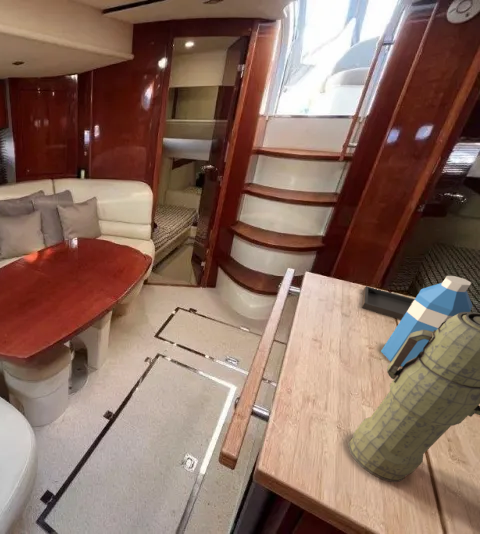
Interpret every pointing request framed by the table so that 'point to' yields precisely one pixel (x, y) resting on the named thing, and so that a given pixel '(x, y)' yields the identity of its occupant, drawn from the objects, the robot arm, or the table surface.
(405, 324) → the water bottle
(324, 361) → the table surface
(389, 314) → the dark grey square tray
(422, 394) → the thermos
